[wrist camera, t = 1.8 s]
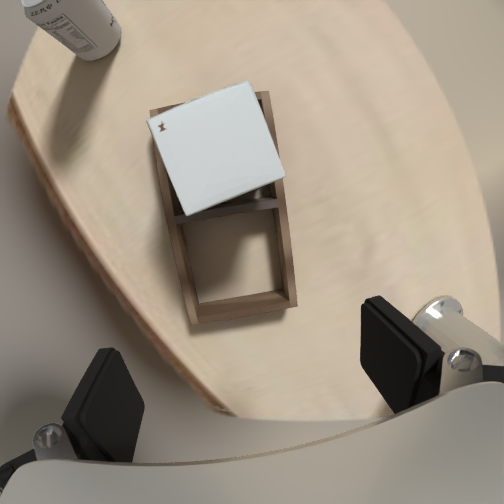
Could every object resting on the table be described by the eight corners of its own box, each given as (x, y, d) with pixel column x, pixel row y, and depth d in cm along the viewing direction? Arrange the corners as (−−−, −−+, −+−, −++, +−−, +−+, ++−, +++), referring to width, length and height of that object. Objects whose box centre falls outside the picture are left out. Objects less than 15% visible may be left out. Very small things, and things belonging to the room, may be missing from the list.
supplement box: (198, 202, 31) (182, 220, 18) (173, 139, 29) (142, 117, 16) (262, 177, 31) (289, 179, 18) (238, 114, 29) (249, 76, 16)
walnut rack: (290, 293, 34) (297, 306, 31) (193, 310, 34) (191, 324, 30) (263, 99, 28) (268, 90, 25) (157, 117, 28) (149, 110, 24)
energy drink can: (133, 32, 24) (89, -37, 10) (100, 70, 25) (35, 19, 11) (102, 17, 23) (53, -44, 8) (71, 53, 24) (6, 7, 9)
